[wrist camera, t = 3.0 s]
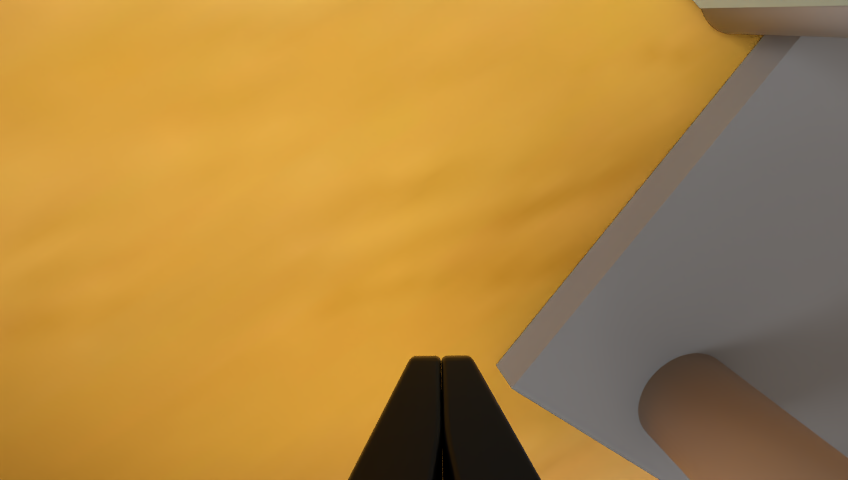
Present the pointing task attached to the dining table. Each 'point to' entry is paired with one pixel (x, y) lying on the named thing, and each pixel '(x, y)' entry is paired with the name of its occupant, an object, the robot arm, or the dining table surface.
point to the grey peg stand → (718, 290)
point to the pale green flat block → (778, 17)
